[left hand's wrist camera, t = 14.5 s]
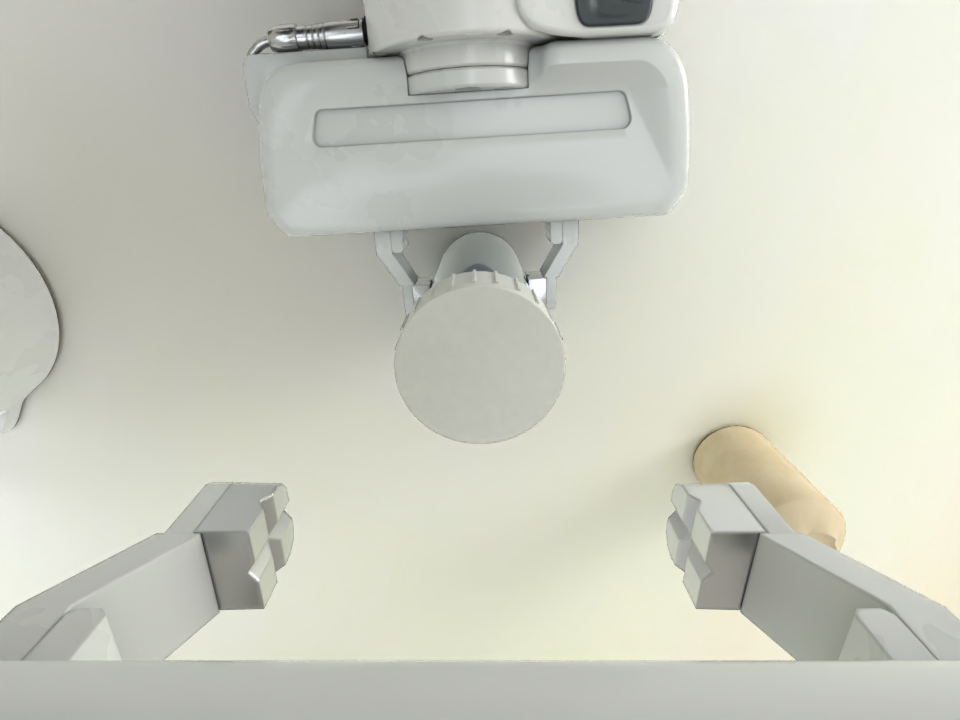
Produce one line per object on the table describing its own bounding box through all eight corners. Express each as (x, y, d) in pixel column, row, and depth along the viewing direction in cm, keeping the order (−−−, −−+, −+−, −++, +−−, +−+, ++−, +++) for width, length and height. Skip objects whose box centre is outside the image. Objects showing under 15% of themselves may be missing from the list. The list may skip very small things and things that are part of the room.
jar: (490, 326, 34) (498, 452, 19) (424, 284, 33) (380, 383, 18) (536, 261, 32) (582, 346, 18) (468, 215, 31) (458, 264, 17)
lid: (499, 440, 22) (502, 472, 19) (373, 366, 20) (360, 391, 18) (589, 325, 20) (603, 347, 17) (456, 236, 18) (453, 247, 16)
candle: (676, 466, 38) (740, 567, 28) (729, 411, 36) (815, 499, 27) (730, 501, 39) (809, 608, 30) (784, 449, 37) (885, 546, 28)
